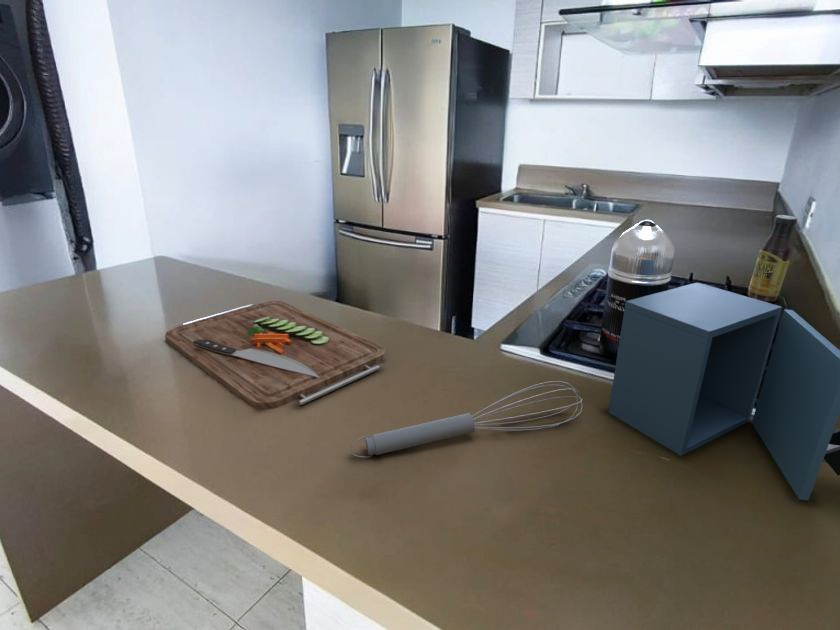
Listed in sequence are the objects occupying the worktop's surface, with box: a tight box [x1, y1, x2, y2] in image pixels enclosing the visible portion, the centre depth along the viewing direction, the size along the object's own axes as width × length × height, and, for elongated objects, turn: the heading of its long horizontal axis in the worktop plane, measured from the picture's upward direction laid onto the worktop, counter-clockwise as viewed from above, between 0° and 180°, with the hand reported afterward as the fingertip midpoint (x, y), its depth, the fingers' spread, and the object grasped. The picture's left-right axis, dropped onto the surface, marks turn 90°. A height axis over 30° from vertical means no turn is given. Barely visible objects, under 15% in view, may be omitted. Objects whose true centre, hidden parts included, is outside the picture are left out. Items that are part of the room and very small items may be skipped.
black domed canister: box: [598, 219, 676, 361], centre depth 90 cm, size 10×10×25 cm
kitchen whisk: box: [350, 380, 584, 458], centre depth 69 cm, size 6×34×6 cm, turn 106°
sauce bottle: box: [747, 214, 798, 303], centre depth 117 cm, size 7×6×20 cm
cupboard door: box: [751, 308, 840, 502], centre depth 62 cm, size 7×16×18 cm, turn 166°
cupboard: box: [608, 281, 783, 457], centre depth 71 cm, size 12×16×18 cm
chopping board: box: [164, 300, 386, 410], centre depth 97 cm, size 45×27×3 cm, turn 46°
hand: (828, 454), depth 59 cm, fingers closed on cupboard door, 3 cm apart
